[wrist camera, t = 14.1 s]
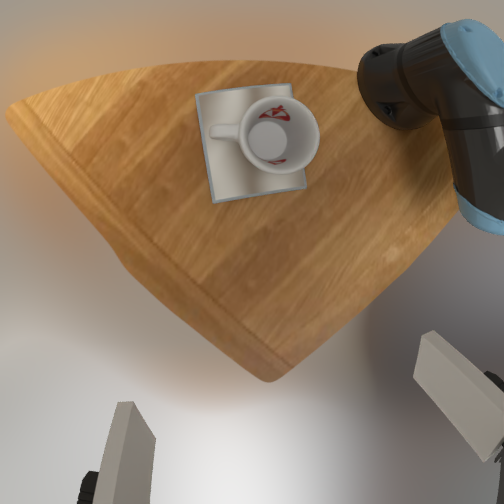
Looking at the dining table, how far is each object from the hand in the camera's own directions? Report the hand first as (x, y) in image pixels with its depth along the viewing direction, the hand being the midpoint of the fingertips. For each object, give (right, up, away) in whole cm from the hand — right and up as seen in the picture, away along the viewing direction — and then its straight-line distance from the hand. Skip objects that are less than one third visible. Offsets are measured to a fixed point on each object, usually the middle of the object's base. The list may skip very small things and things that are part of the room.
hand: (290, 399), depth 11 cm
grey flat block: (-2, +21, +27) cm, 34 cm away
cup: (-1, +20, +22) cm, 30 cm away
